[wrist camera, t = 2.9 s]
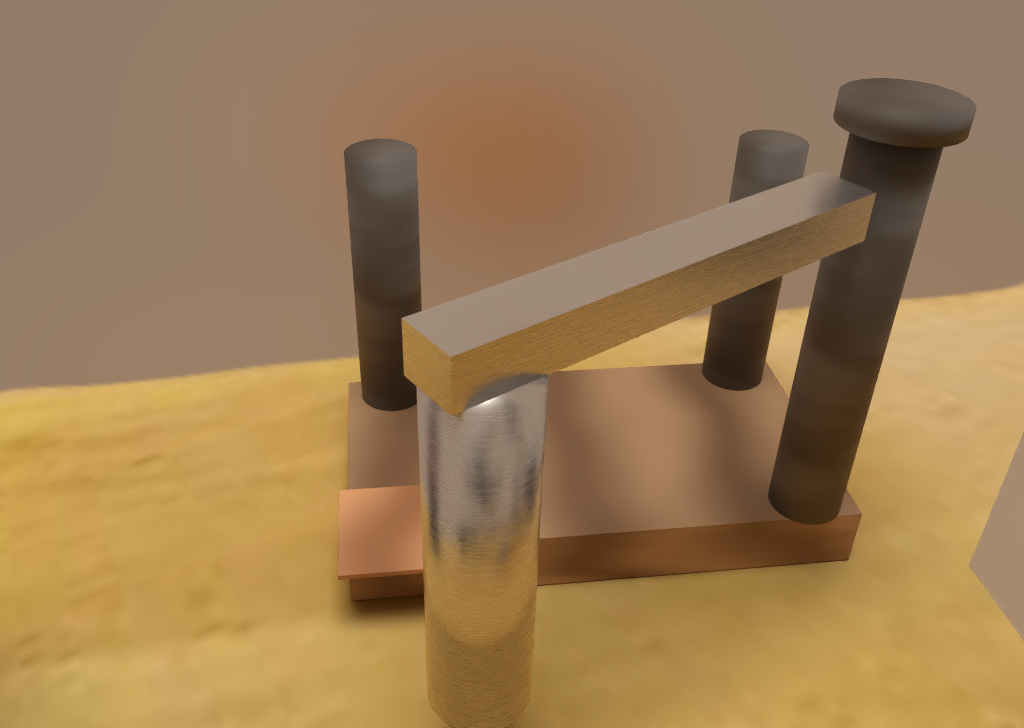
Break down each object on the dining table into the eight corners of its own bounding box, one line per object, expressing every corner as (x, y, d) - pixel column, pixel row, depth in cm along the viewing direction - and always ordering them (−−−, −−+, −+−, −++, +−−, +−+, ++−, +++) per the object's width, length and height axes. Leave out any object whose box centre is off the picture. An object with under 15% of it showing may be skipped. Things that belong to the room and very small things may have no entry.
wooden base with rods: (753, 397, 49) (830, 11, 38) (861, 583, 38) (1008, 123, 28) (345, 421, 46) (310, 16, 36) (343, 627, 36) (292, 140, 25)
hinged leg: (740, 486, 38) (806, 165, 31) (806, 531, 36) (893, 199, 29) (407, 679, 30) (387, 307, 23) (467, 752, 28) (466, 369, 21)
